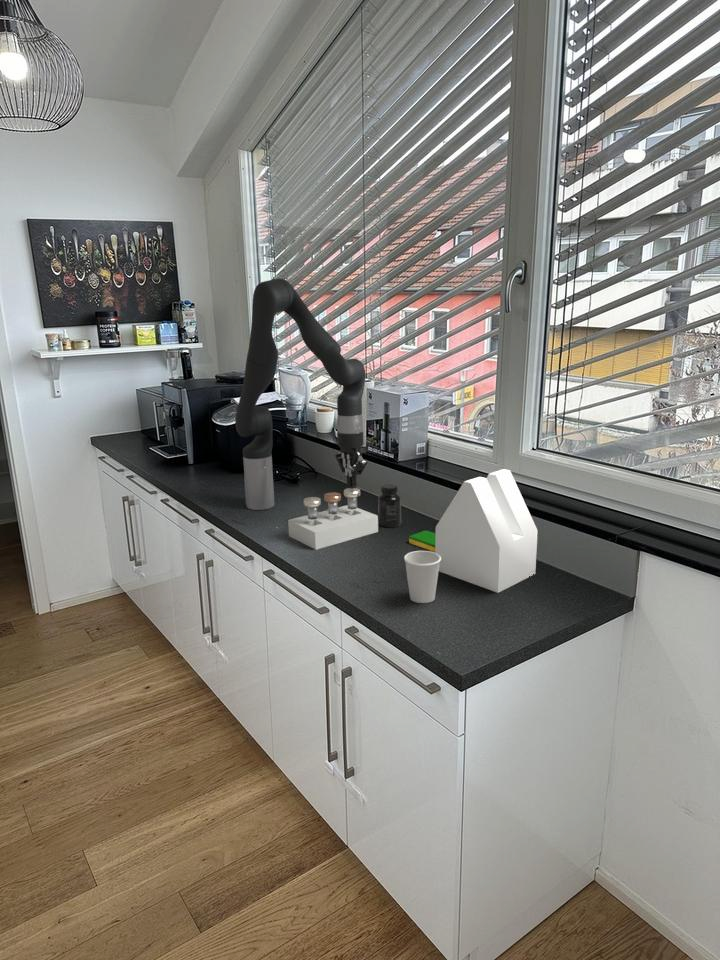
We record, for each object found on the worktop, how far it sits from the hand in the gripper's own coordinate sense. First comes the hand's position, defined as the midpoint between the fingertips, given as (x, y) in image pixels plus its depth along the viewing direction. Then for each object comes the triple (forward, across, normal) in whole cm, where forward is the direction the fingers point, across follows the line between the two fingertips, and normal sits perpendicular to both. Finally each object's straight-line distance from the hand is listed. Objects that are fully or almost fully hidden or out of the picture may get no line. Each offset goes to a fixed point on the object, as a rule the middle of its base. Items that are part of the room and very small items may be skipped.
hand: (351, 487), depth 197 cm
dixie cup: (+13, +48, -16) cm, 52 cm away
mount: (+13, 0, -7) cm, 14 cm away
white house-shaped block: (+13, +47, +6) cm, 49 cm away
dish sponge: (+14, +26, +9) cm, 31 cm away
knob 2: (+6, 0, 0) cm, 6 cm away
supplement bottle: (+13, +4, +11) cm, 18 cm away
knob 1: (+6, 0, -14) cm, 15 cm away
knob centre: (+6, 0, -7) cm, 9 cm away
